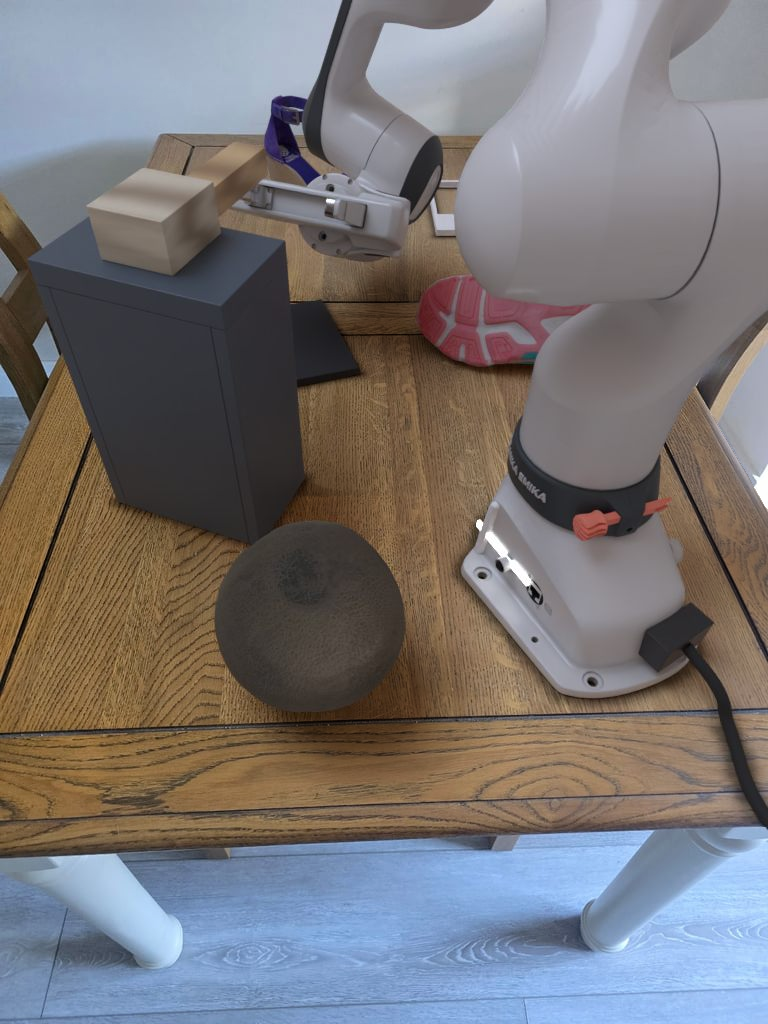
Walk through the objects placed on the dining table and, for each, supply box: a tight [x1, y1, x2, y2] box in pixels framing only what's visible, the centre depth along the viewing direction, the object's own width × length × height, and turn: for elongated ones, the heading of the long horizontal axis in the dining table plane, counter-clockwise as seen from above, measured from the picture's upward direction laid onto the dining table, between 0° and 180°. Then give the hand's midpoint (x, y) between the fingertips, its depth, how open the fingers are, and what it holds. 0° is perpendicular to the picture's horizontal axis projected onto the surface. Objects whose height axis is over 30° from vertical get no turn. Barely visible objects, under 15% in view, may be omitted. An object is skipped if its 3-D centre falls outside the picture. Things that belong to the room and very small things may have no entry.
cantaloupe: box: [213, 520, 407, 713], centre depth 53 cm, size 14×14×15 cm
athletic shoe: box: [414, 274, 592, 368], centre depth 88 cm, size 27×9×12 cm
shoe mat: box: [290, 298, 360, 387], centre depth 89 cm, size 16×10×1 cm, turn 20°
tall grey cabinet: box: [26, 216, 306, 546], centre depth 62 cm, size 10×16×26 cm, turn 70°
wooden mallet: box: [85, 140, 269, 276], centre depth 55 cm, size 18×6×4 cm, turn 160°
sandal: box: [263, 94, 349, 187], centre depth 110 cm, size 8×20×15 cm, turn 60°
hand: (287, 198), depth 70 cm, fingers open, 8 cm apart
